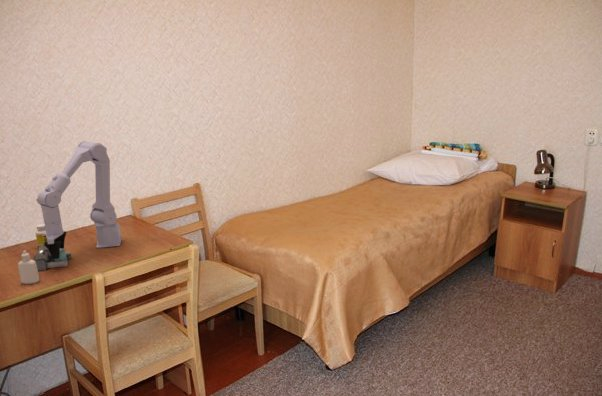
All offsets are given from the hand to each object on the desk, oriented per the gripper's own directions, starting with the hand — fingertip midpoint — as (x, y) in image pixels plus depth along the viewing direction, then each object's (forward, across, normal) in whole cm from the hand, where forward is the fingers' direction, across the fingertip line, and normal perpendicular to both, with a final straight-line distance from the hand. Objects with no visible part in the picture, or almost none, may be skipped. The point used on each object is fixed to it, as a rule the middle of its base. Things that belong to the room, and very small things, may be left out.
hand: (58, 254), depth 180 cm
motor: (+3, 0, -2) cm, 4 cm away
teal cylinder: (+3, 0, 0) cm, 4 cm away
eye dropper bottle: (+4, +15, -6) cm, 17 cm away
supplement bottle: (+4, -19, -10) cm, 22 cm away
